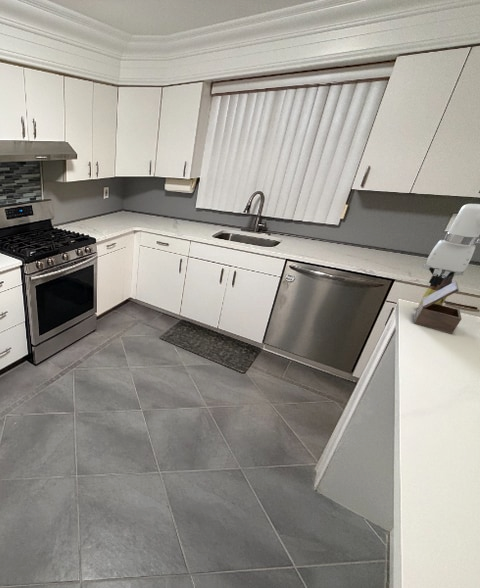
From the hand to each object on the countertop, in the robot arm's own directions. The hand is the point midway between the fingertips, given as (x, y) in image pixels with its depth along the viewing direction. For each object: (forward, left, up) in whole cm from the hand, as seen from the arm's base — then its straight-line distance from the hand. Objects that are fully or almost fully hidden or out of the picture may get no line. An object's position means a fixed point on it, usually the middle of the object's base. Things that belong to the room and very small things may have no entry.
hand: (433, 285), depth 119 cm
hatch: (-3, +1, -3) cm, 5 cm away
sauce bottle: (-7, -11, -15) cm, 20 cm away
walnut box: (-5, +1, -15) cm, 16 cm away
